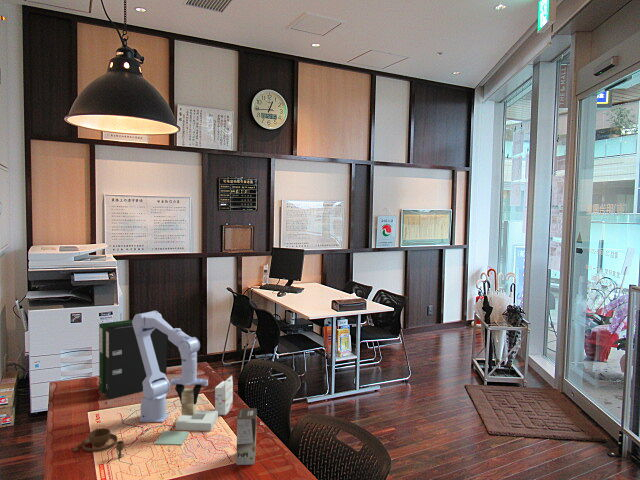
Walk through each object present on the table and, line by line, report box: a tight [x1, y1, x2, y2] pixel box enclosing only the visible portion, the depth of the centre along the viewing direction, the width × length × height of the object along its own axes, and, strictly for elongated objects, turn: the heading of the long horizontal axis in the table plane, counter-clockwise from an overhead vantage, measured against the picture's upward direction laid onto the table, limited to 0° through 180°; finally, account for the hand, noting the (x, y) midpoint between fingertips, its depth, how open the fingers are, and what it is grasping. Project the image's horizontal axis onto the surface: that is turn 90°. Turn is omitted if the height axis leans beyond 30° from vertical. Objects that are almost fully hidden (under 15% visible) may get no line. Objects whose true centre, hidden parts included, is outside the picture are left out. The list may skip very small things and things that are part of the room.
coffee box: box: [235, 407, 258, 466], centre depth 166 cm, size 9×6×16 cm
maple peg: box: [181, 388, 197, 416], centre depth 187 cm, size 4×4×9 cm
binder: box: [98, 319, 168, 401], centre depth 228 cm, size 27×15×32 cm, turn 132°
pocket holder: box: [175, 409, 219, 432], centre depth 192 cm, size 14×12×3 cm
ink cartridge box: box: [214, 375, 234, 416], centre depth 205 cm, size 9×5×15 cm, turn 169°
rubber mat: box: [154, 430, 190, 446], centre depth 179 cm, size 10×10×1 cm
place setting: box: [72, 427, 125, 459], centre depth 170 cm, size 18×20×6 cm
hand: (188, 403), depth 187 cm, fingers closed on maple peg, 4 cm apart
